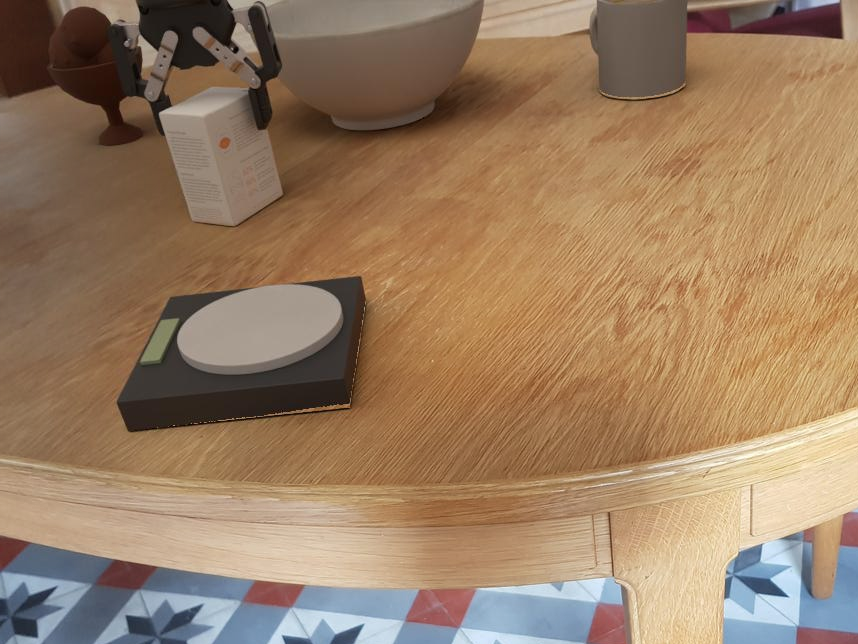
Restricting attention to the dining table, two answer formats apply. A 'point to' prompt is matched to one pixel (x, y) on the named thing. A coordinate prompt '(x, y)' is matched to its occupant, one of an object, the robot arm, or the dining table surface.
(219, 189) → the small box
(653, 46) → the coffee mug
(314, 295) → the scale
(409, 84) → the decorative bowl
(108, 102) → the ice cream bowl
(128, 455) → the dining table surface
